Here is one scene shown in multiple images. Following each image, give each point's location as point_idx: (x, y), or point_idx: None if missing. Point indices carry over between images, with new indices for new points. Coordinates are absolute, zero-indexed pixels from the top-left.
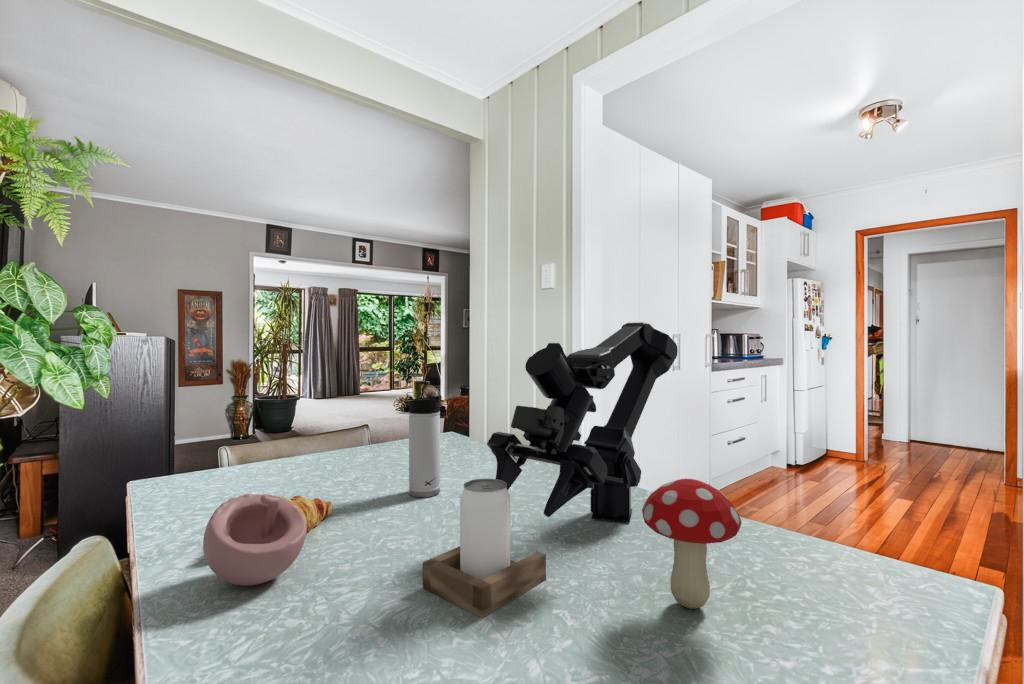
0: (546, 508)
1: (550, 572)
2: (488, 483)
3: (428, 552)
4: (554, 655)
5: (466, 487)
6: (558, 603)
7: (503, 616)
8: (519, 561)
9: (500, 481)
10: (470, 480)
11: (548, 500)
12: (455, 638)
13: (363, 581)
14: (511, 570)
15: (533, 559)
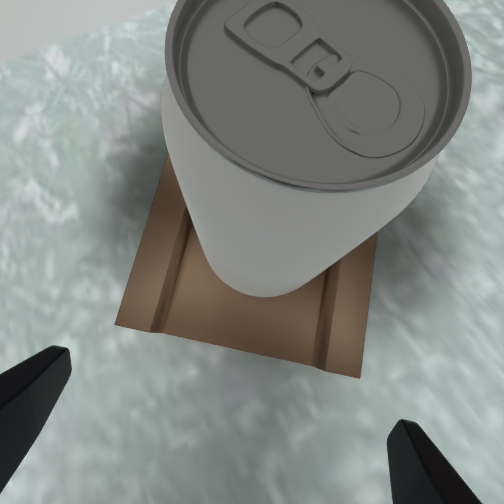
0: (42, 360)
1: (140, 372)
2: (347, 136)
3: (485, 314)
4: (34, 94)
5: (411, 13)
6: (73, 240)
7: (162, 151)
8: (169, 244)
9: (278, 176)
10: (469, 80)
11: (11, 393)
12: None
13: (482, 137)
14: (167, 191)
15: (137, 275)
